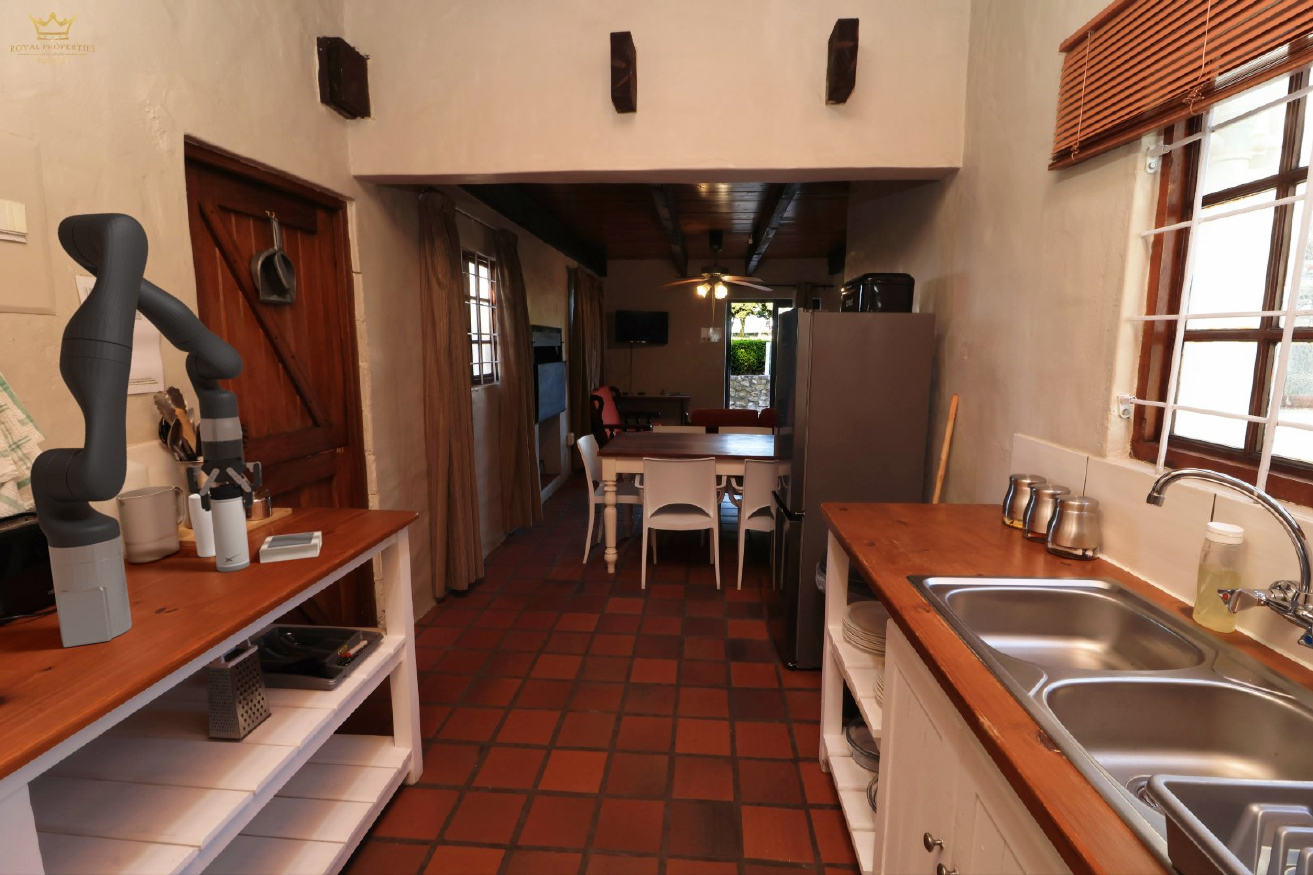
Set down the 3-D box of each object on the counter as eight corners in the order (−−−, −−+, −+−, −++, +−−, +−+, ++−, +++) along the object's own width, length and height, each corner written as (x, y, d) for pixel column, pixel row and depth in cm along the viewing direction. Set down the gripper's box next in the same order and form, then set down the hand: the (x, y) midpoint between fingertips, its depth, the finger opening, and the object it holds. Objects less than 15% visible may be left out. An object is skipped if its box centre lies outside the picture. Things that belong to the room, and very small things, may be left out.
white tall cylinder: (192, 553, 151) (186, 494, 149) (226, 548, 155) (220, 490, 153) (195, 561, 146) (189, 499, 144) (229, 554, 150) (224, 495, 148)
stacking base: (318, 556, 149) (317, 543, 149) (260, 563, 144) (259, 549, 144) (322, 542, 160) (321, 530, 160) (268, 548, 155) (267, 535, 155)
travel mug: (234, 573, 138) (226, 486, 135) (210, 571, 139) (201, 484, 136) (257, 563, 144) (250, 480, 141) (234, 561, 145) (226, 479, 142)
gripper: (177, 441, 131) (185, 516, 133) (256, 437, 137) (262, 509, 139) (187, 436, 138) (194, 508, 140) (262, 433, 144) (268, 502, 146)
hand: (228, 508), depth 140 cm, fingers open, 7 cm apart
